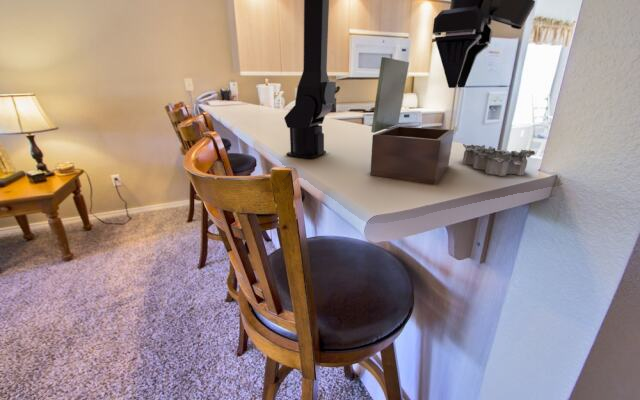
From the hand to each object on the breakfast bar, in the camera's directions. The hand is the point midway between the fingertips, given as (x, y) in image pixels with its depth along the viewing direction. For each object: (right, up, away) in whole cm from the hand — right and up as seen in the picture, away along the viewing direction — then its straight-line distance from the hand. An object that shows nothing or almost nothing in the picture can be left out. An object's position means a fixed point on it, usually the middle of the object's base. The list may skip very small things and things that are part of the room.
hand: (457, 87), depth 50 cm
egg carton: (+8, -14, +3) cm, 16 cm away
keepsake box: (-7, -14, +2) cm, 16 cm away
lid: (-11, -2, -1) cm, 11 cm away
